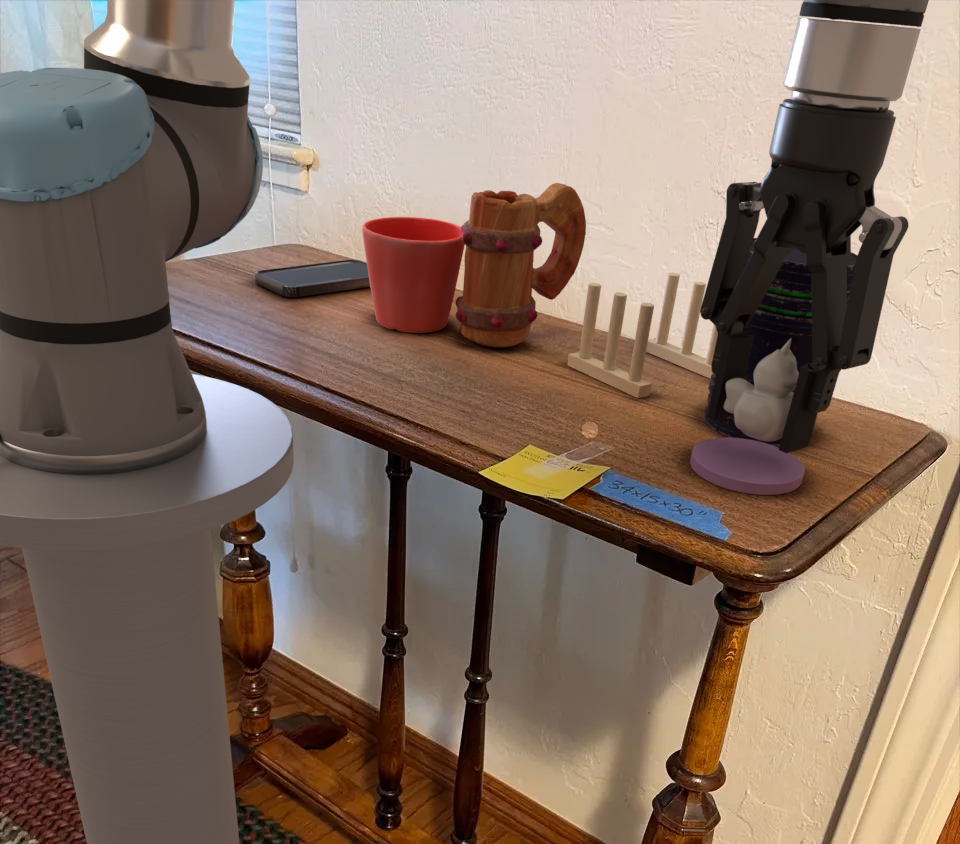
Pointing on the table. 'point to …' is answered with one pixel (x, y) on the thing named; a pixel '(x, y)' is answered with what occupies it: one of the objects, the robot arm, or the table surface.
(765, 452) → the purple coaster
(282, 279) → the phone
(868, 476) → the table surface
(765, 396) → the grey lumpy piece
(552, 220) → the mug
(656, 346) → the rack
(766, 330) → the dark blue barrel
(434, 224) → the flower pot
